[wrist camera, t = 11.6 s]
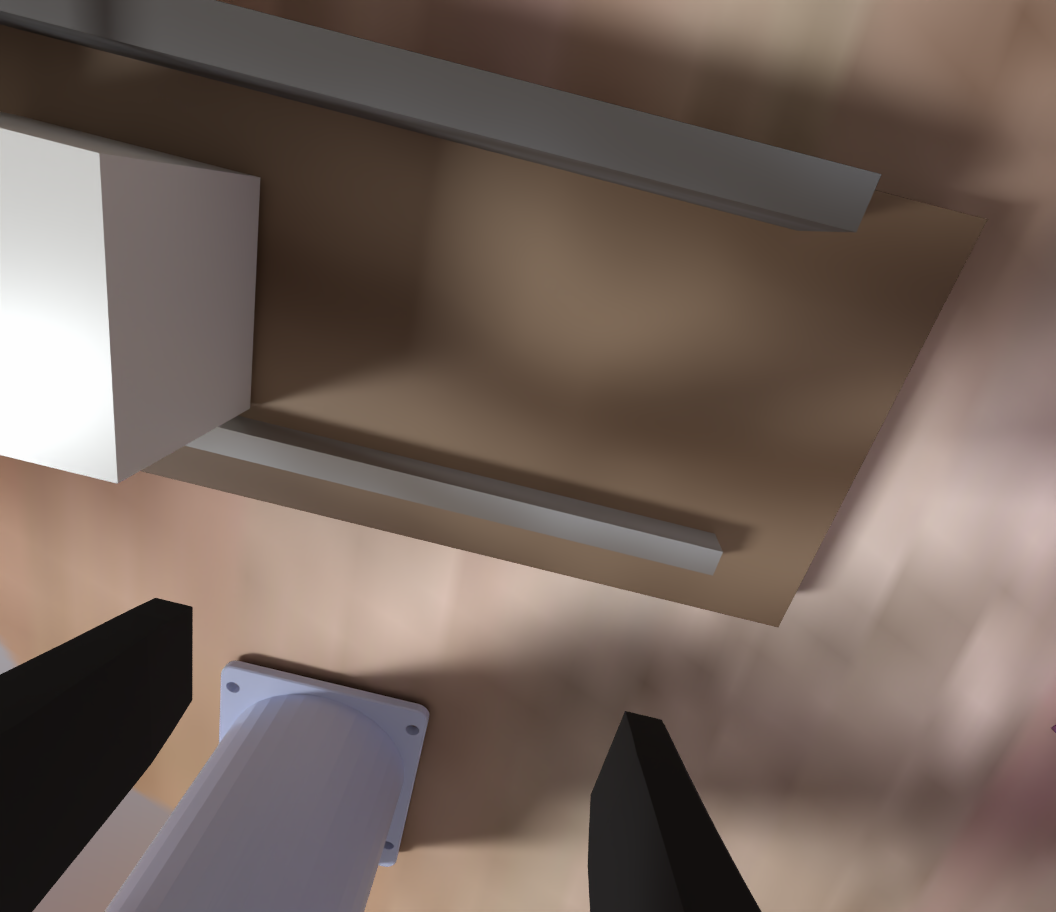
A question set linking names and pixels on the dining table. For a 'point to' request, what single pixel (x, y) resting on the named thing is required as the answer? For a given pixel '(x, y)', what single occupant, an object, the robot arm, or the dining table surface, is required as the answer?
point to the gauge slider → (119, 299)
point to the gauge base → (519, 298)
